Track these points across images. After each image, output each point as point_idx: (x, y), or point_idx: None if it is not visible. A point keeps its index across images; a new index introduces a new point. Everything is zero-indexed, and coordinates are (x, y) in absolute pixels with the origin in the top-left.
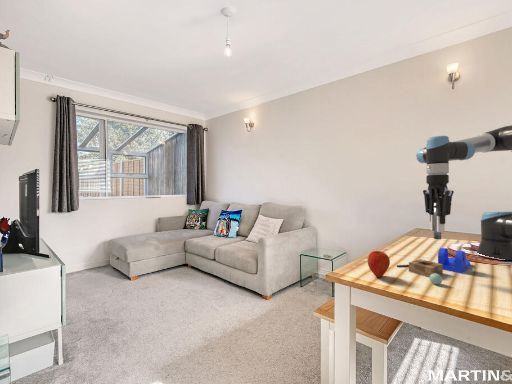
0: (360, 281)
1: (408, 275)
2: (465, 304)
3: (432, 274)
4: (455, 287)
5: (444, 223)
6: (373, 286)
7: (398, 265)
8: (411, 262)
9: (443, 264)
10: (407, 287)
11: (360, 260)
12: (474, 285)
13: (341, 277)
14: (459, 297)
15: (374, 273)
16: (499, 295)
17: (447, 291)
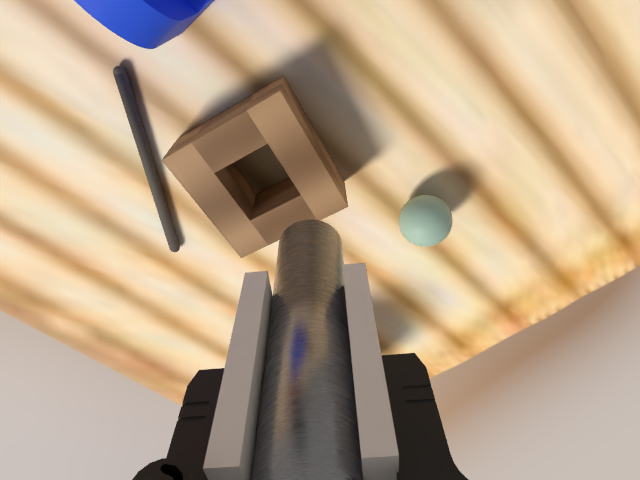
0: None
1: None
2: (609, 228)
3: (425, 245)
4: (473, 151)
5: (419, 365)
6: None
7: (175, 246)
8: (240, 245)
9: (194, 13)
10: (428, 318)
11: (89, 348)
12: (478, 31)
13: None
14: (559, 208)
15: None
16: (617, 11)
17: (499, 213)
